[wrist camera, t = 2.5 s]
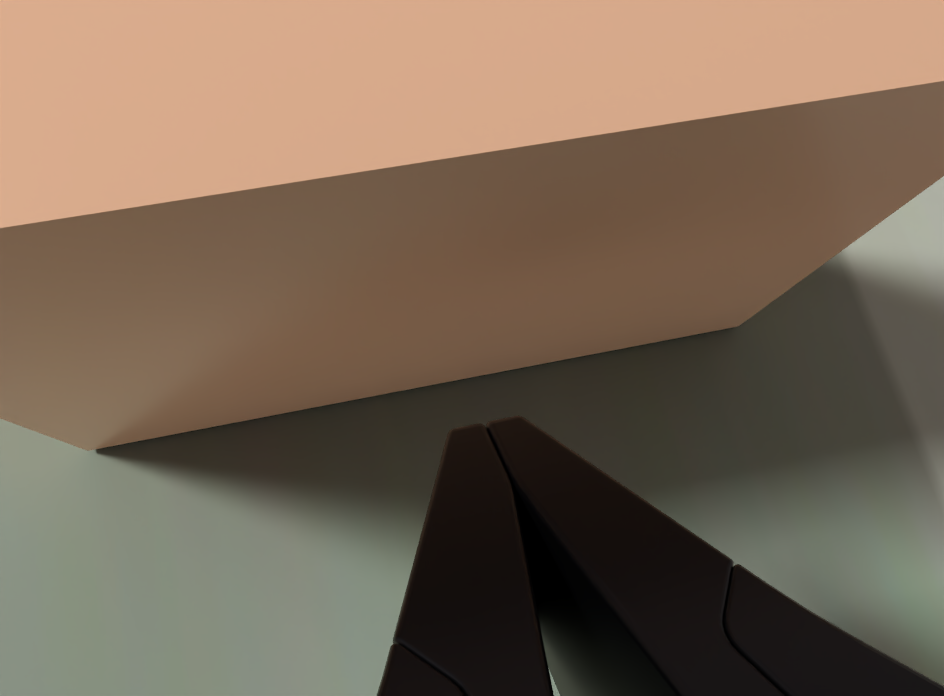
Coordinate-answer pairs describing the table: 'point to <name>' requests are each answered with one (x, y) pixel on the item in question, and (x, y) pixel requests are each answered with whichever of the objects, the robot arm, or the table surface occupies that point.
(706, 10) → the terracotta tile
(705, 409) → the table surface
